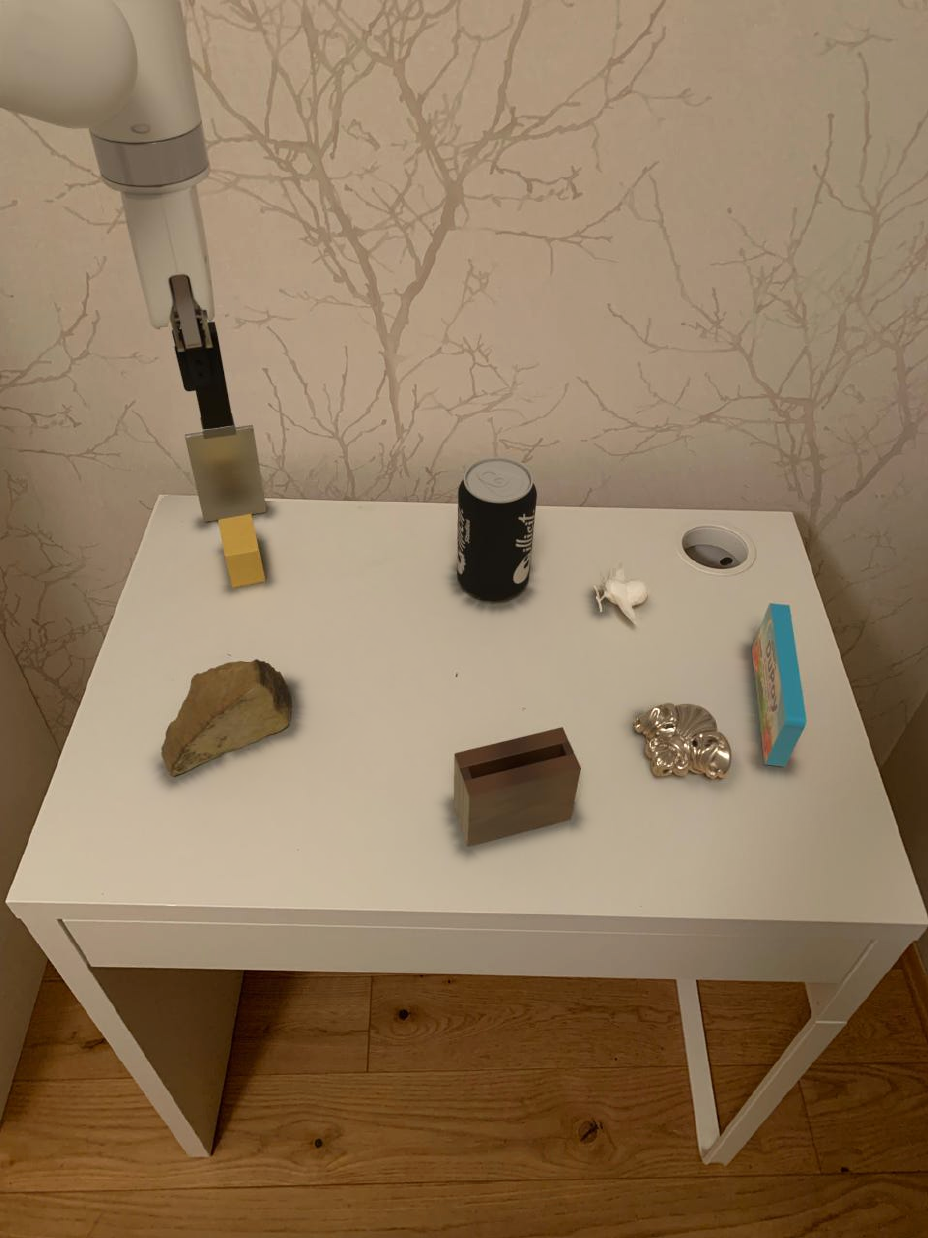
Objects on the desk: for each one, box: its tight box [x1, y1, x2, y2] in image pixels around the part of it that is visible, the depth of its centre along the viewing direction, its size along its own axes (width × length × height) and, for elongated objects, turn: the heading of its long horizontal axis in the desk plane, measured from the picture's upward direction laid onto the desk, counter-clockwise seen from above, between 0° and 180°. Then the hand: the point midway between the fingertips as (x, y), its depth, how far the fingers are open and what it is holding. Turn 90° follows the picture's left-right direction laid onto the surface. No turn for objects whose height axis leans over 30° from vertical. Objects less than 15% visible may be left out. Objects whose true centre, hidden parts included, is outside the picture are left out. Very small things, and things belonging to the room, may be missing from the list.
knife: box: [184, 321, 267, 523], centre depth 81 cm, size 6×2×20 cm, turn 107°
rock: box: [160, 658, 292, 777], centre depth 70 cm, size 11×9×10 cm
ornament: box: [633, 702, 732, 780], centre depth 70 cm, size 8×7×4 cm
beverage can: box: [456, 455, 538, 602], centre depth 79 cm, size 7×7×12 cm
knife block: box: [453, 727, 582, 848], centre depth 65 cm, size 8×4×7 cm, turn 107°
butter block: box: [217, 514, 267, 589], centre depth 83 cm, size 3×5×4 cm, turn 17°
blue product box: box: [751, 602, 807, 768], centre depth 72 cm, size 12×2×6 cm, turn 173°
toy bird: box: [592, 561, 650, 628], centre depth 80 cm, size 8×5×5 cm, turn 4°
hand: (202, 378), depth 77 cm, fingers closed on knife, 1 cm apart
